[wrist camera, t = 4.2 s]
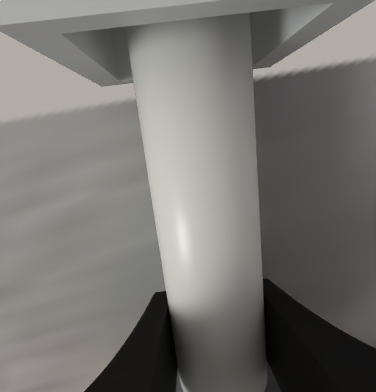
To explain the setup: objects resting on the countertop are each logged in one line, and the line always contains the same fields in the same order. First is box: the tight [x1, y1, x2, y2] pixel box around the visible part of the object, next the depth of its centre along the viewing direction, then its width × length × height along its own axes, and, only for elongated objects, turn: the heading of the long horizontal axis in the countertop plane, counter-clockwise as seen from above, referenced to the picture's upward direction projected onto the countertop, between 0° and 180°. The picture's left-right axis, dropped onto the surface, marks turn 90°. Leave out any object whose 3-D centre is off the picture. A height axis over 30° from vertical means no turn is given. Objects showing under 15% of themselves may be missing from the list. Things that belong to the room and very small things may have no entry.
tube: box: [125, 12, 281, 392], centre depth 9 cm, size 18×4×4 cm, turn 7°
